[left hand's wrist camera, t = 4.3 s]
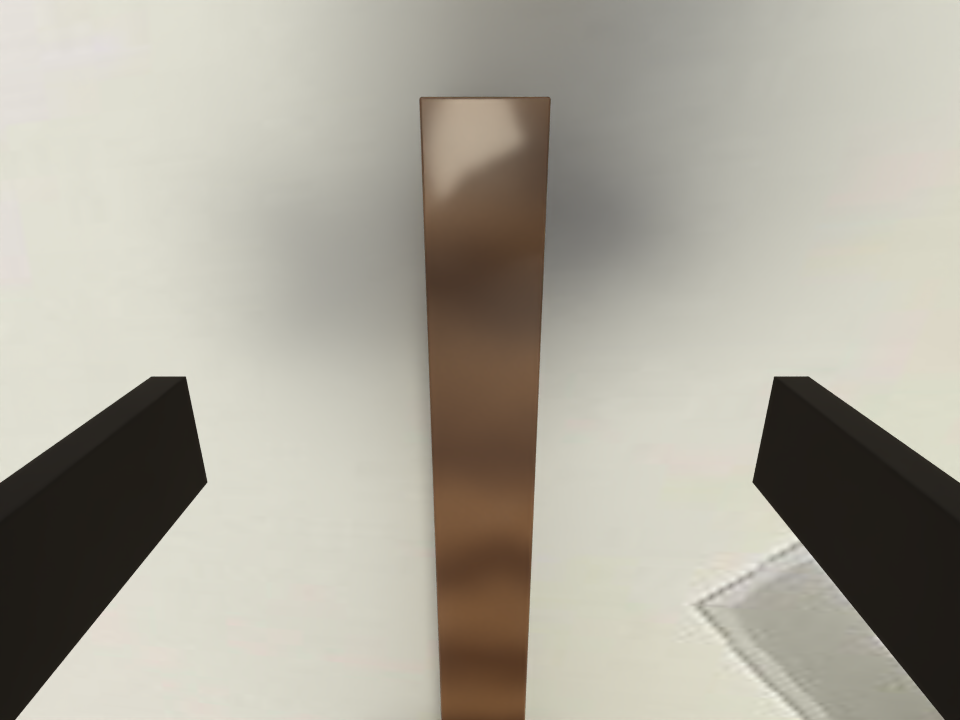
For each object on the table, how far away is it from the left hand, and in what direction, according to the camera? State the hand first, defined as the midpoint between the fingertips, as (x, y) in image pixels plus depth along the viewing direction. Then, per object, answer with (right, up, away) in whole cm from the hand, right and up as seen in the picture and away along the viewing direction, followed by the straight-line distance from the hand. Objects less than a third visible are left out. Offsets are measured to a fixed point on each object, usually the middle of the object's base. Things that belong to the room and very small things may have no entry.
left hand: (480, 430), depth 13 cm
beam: (0, -11, +22) cm, 25 cm away
